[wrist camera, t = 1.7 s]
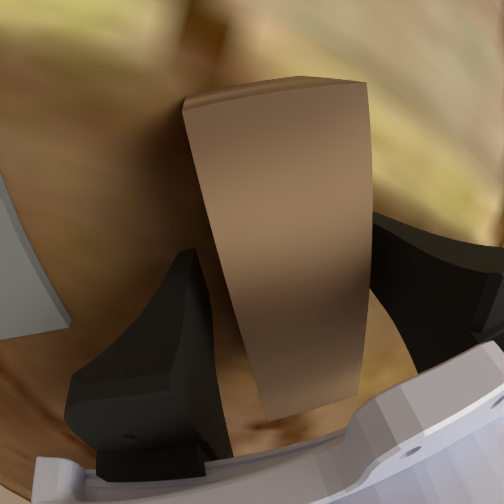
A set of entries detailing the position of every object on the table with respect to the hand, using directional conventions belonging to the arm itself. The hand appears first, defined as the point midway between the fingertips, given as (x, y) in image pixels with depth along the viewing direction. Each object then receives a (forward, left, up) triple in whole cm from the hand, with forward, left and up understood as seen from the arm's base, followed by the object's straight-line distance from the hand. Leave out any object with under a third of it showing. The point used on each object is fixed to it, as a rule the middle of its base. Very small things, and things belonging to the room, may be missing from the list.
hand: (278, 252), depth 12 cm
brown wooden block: (0, 0, -2) cm, 2 cm away
